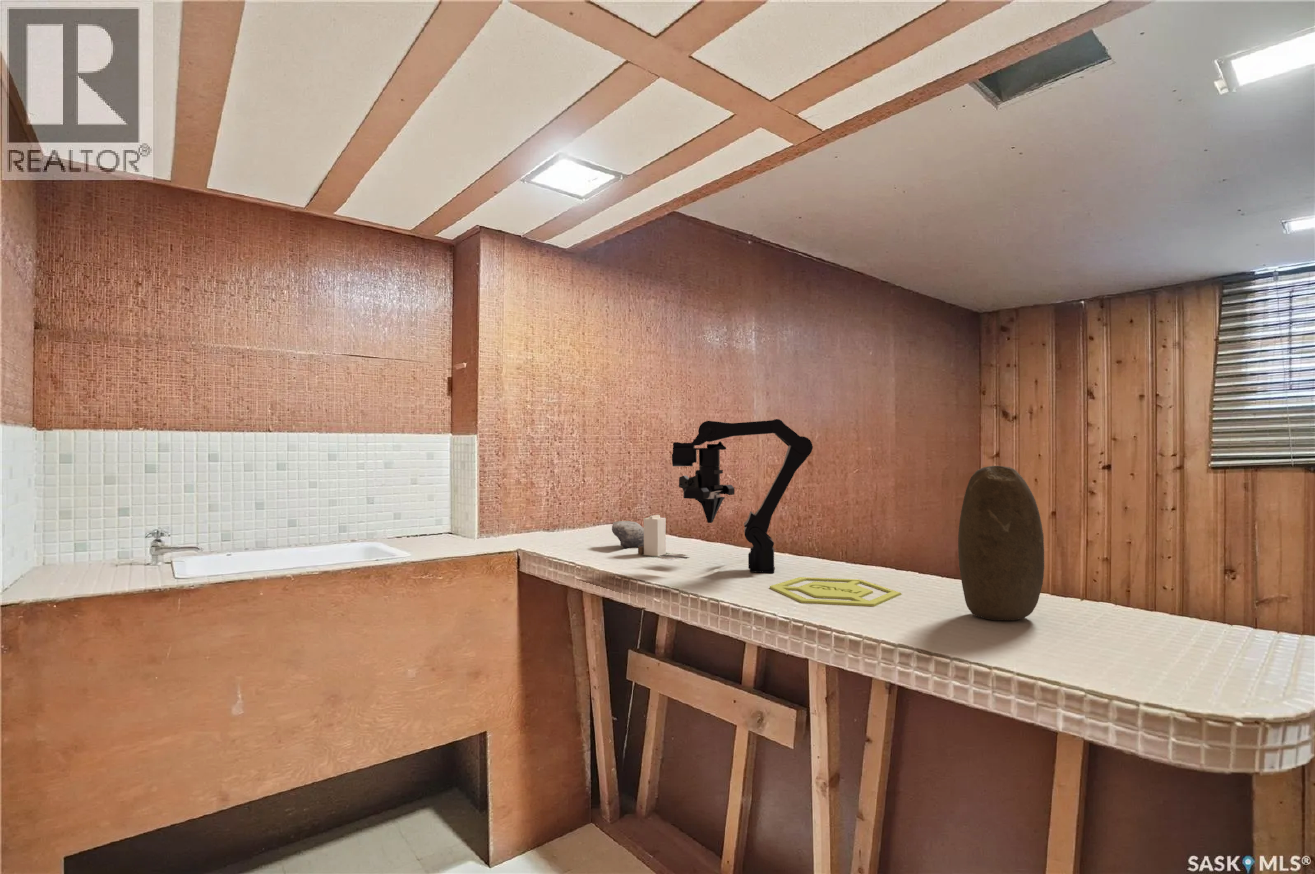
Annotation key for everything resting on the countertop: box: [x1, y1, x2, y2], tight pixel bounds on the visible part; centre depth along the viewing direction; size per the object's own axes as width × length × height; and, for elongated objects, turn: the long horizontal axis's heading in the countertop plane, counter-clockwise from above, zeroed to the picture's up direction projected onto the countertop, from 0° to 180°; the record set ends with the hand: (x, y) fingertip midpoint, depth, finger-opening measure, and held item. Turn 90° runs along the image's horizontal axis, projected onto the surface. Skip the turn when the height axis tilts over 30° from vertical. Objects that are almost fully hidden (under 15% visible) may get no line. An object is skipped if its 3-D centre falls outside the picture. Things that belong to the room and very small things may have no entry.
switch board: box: [637, 546, 691, 561], centre depth 190 cm, size 17×10×4 cm, turn 57°
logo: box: [769, 576, 903, 607], centre depth 148 cm, size 26×1×30 cm
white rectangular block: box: [643, 514, 667, 557], centre depth 192 cm, size 5×4×12 cm
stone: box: [957, 465, 1045, 621], centre depth 125 cm, size 13×15×30 cm
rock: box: [611, 520, 644, 550], centre depth 212 cm, size 11×17×10 cm, turn 38°
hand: (710, 522), depth 174 cm, fingers closed
